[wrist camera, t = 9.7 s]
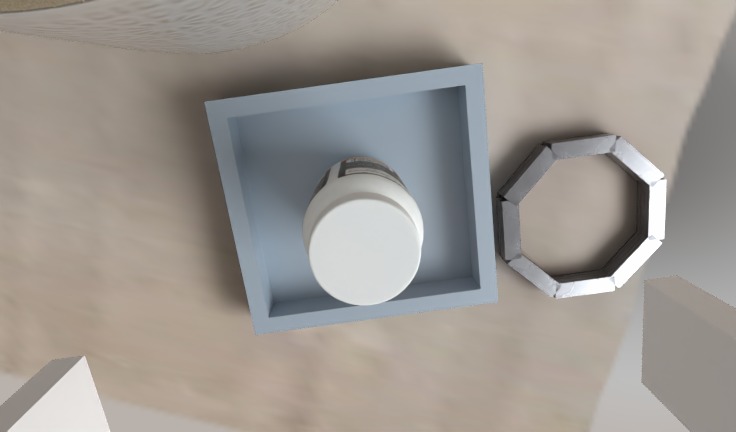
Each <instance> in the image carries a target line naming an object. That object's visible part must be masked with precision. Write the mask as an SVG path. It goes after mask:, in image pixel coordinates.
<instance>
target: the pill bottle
mask: <svg viewBox="0 0 736 432" xmlns="http://www.w3.org/2000/svg"><path fill="white" fill-rule="evenodd" d="M302 237H303V242H304V246H305V249H306V252H307V254H308V260H309V265H310V268H311V271H312V273H313V275H314V277H315V279H316V281H317V282H318V283H319V285H320V286H321V287H322V288H323V289H324V290H325V291H326V292H327V293H328V294H330V295H331V296H333V297H334V298H336V299H338V300H340V301H343V302H346V303H349V304H353V305H374V304H379V303H382V302H385V301H388V300H390V299H392V298H394V297H395V296H397V295H398V294H400V293H401V292H402V291H403V290H404V289H405V288H406V287H407V286H408V285H409V284H410V282H411V281H412V279H413V278H414V276H415V274H416V272H417V270H418V267H419V264H420V259H421V247H422V243H423V238H424V229H423V220H422V216H421V213H420V210H419V208H418V206H417V204H416V202H415V201H414V199H413V198H412V196H411V195H410V193H409V192H408V190H407V188H406V186H405V185H404V183H403V182H402V180H401V179H400V177H399V176H398V175H397V173H396V172H395V171H394V170H393V169H392V168H390V167H389V166H388V165H386V164H385V163H383V162H381V161H379V160H376V159H373V158H367V157H354V158H349V159H345V160H343V161H340V162H338V163H337V164H335V165H333V166H332V167H331V168H330V169H328V170H327V171H326V172H325V174H324V175H323V176H322V177H321V179H320V180H319V182H318V184H317V186H316V188H315V191H314V193H313V195H312V198H311V200H310V202H309V205H308V208H307V210H306V213H305V216H304V220H303V226H302Z"/></svg>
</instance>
